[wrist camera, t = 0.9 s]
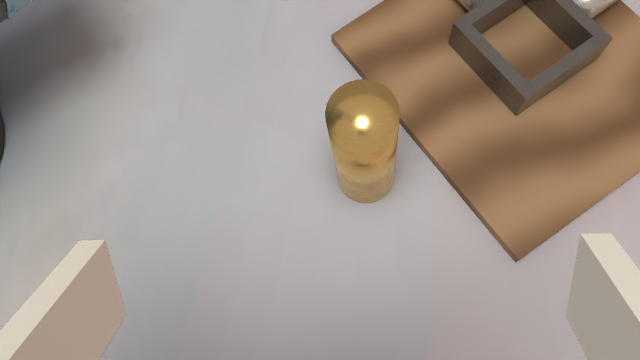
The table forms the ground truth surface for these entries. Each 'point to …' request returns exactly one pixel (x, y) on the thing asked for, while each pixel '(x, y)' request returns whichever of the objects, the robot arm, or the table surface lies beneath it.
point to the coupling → (364, 138)
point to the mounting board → (508, 112)
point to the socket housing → (558, 15)
